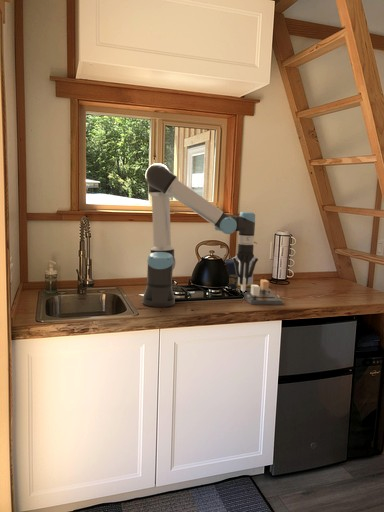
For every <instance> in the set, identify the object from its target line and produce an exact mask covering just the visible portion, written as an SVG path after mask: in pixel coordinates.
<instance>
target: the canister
mask: <svg viewBox="0 0 384 512" xmlns="http://www.w3.org/2000/svg"><path fill="white" fill-rule="evenodd" d="M224 260H225V264H226V266H227V270H228V275H229V284H230V285H229V287H228V288H227V289H234V288H239V286H238V277H237V276H236V271H235V266H234V261H233V260H232V258H227V259H224ZM238 261H239V260H237V263H238V268H239V262H238Z"/></svg>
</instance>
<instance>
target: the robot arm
mask: <svg viewBox="0 0 384 512" xmlns="http://www.w3.org/2000/svg"><path fill="white" fill-rule="evenodd" d="M145 180H146V183H147V185H148V186H147V187H148V188H147V189H148V194H149V195H150V197H151V209H152V210H151V213H152V235H153V236H152V238H153V243H152V244H153V245H152V247H151V248H150V254H148V257H147V270H146V272H147V276H146V288H145V291H144V294H143V296H142V304H143V305H145V306H147V307H148V306H149V307H154V308H167V307H173V306H174V305H175V303H176V301H175V300H176V298H175V294H174V291H173V286H172V285H173V271H174V269H175V266H176V258H175V247H174V246H173V245H172V239H171V238H172V235H171V206H170V205H171V204H170V203H171V202H170V197H172V198H174V199H175V200H177V201H178V202H180V203H181V204H182V205H184V206H185V207H187V208H188V209H189V210H191V211H192V212H194V213H196V214H197V215H198V216H200V217H201V218H203V219H204V220H206V222H208V223H210V224H211V225H213V226H214V230H215V231H220V232H222V233H223V234H226V235H231V234H233V233H234V232H238V241H237V242H238V244H237V253H236V255H235V256H234V257H232V258H231V259H232V260H233V261H234V266H235V271H236V276H237V277H240V284H241V287H240V288H241V291H242V292H245V288H247V287H246V285H247V284H248V278H249V277H252V274H253V275H254V271H255V267H256V264H257V262H258V260H259V259H258V258H257V257H256V256H255V255H254V248H255V247H254V246H255V245H254V244H255V243H254V242H255V229H256V228H255V227H256V214H255V213H254V212H253V211H252V212H251V211H241V212H239V215H229V214H227V213H226V212H224V211H223V210H221V208H218V207H217V206H216V205H214V204H213V203H211V202H209V201H208V200H207V199H205V198H204V197H203V196H202V195H200V194H199V193H198V192H195V191H194V190H193V189H191V188H190V187H189V186H187V185H186V184H185V183H183V182H181V181H180V180H179V178H178V176H177V175H175V174H174V173H173V172H172V170H171V168H170V167H168V166H167V165H165V164H163V163H158V162H157V163H153V164H151V165H149V166H148V168H147V169H146V171H145ZM251 260H252V264H251V267H250V271H249V263H250V261H251ZM237 261H240V274H239V268H238V263H237ZM244 263H245V278H243V273H244Z"/></svg>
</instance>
